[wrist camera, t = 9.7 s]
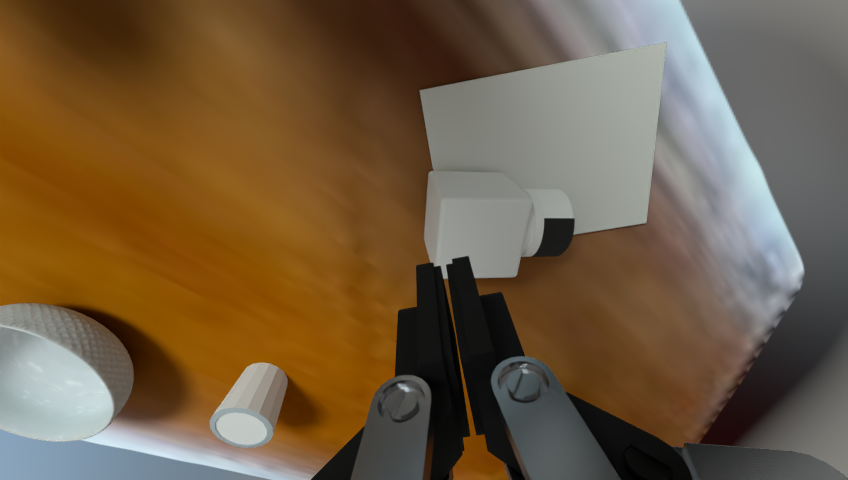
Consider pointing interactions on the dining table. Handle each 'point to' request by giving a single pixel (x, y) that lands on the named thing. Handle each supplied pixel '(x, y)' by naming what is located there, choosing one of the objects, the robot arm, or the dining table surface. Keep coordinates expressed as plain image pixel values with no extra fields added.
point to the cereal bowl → (59, 373)
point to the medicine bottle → (493, 222)
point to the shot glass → (251, 407)
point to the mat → (559, 131)
